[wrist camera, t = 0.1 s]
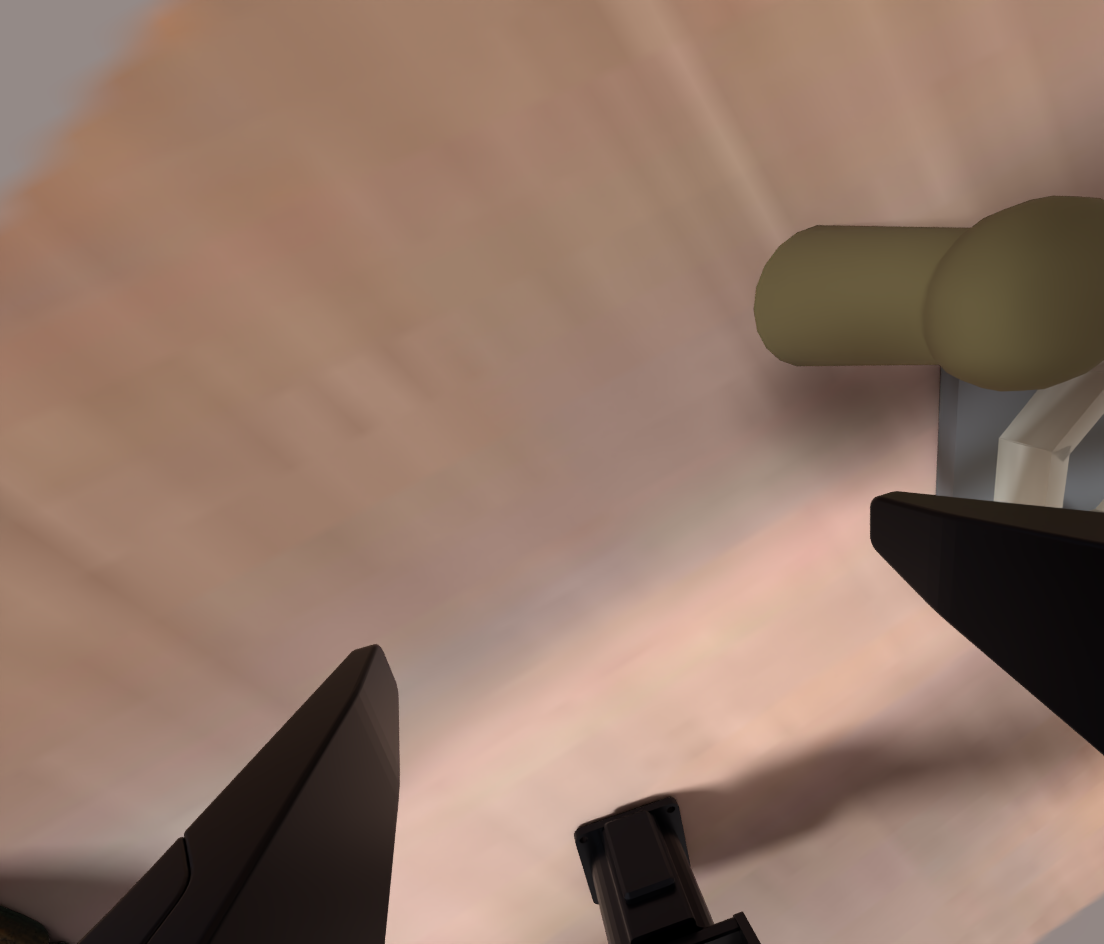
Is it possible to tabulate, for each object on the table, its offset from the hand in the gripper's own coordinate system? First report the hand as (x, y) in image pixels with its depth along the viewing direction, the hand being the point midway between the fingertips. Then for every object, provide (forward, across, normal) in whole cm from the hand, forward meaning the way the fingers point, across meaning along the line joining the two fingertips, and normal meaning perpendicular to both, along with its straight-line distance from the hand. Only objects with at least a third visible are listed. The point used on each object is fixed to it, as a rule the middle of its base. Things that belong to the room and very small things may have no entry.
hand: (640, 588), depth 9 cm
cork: (+15, -14, -2) cm, 20 cm away
